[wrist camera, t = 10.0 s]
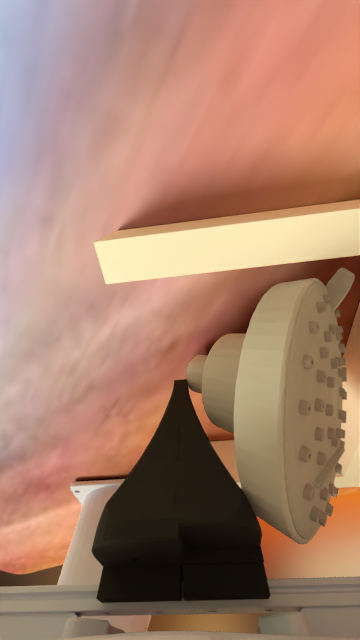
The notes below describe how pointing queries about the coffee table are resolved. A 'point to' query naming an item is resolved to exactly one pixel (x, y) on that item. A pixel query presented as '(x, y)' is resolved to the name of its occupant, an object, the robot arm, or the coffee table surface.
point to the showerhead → (283, 401)
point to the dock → (246, 252)
